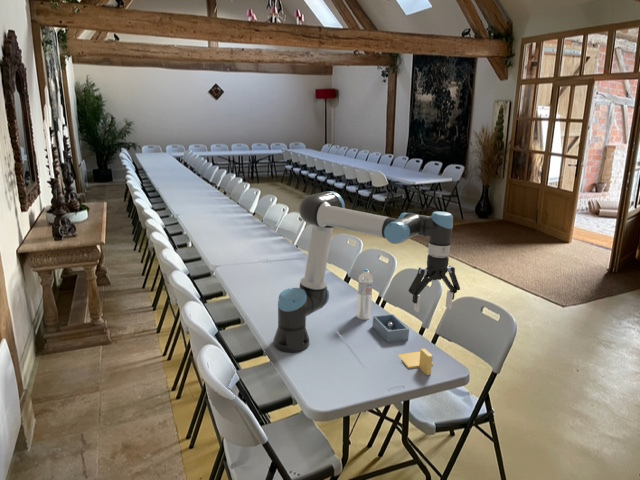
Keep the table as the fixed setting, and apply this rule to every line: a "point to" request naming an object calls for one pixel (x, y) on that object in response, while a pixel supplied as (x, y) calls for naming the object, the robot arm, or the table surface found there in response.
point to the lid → (418, 360)
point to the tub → (396, 334)
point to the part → (390, 325)
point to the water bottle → (364, 296)
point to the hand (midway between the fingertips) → (432, 309)
